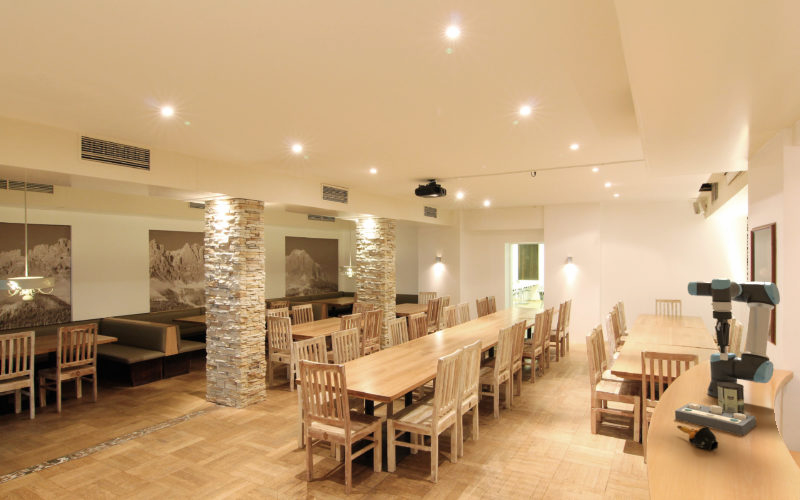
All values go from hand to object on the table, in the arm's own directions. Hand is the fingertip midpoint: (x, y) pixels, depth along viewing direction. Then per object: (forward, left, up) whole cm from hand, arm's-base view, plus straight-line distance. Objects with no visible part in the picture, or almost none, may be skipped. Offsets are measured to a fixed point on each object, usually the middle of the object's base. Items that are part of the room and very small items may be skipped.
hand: (723, 359), depth 214 cm
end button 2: (+13, +9, -26) cm, 30 cm away
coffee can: (-4, +1, -27) cm, 27 cm away
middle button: (+12, 0, -25) cm, 28 cm away
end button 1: (+13, -9, -26) cm, 30 cm away
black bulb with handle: (+48, +4, -27) cm, 55 cm away
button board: (+15, 0, -26) cm, 30 cm away
